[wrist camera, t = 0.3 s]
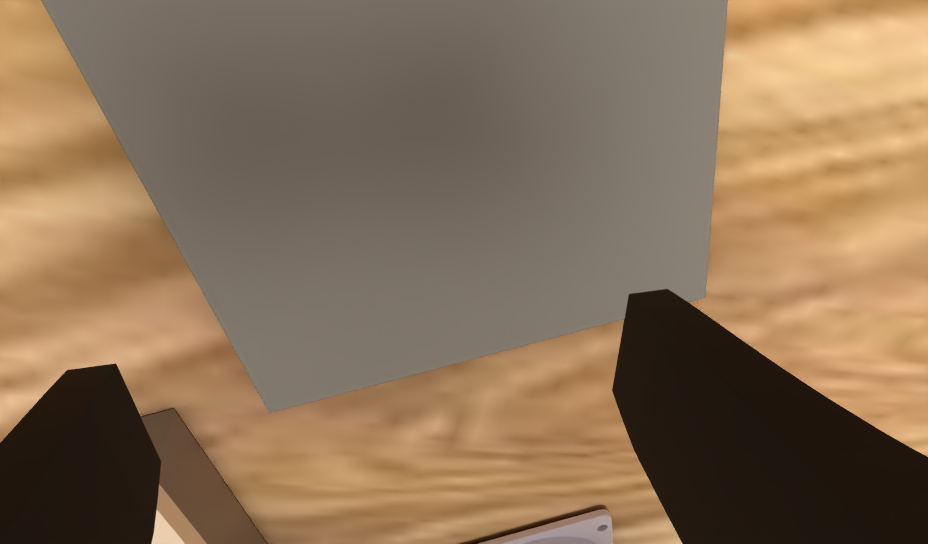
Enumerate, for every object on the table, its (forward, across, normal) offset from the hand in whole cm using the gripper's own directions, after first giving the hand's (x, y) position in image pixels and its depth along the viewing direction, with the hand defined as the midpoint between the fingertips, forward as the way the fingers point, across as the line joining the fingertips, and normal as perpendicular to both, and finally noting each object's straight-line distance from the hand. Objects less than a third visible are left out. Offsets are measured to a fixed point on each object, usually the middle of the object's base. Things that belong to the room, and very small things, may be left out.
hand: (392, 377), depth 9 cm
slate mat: (+10, -2, +1) cm, 10 cm away
